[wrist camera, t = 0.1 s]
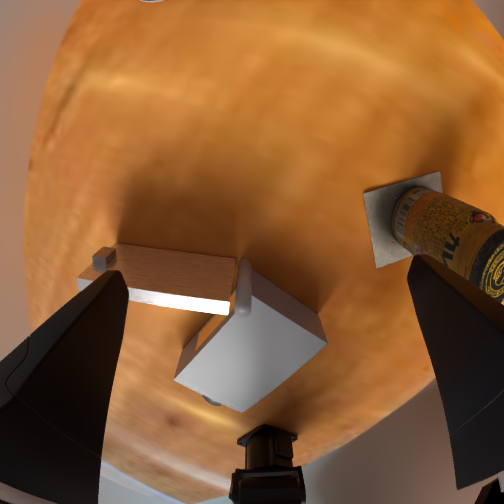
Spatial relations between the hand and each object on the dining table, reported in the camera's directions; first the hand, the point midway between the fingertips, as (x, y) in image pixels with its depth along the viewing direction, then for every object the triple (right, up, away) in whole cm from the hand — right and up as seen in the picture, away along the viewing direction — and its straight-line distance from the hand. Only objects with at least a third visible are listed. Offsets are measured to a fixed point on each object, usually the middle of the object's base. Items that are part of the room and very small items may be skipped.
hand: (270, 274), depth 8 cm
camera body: (-1, -7, +20) cm, 21 cm away
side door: (-7, +1, +16) cm, 18 cm away
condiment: (+14, +4, +15) cm, 21 cm away
